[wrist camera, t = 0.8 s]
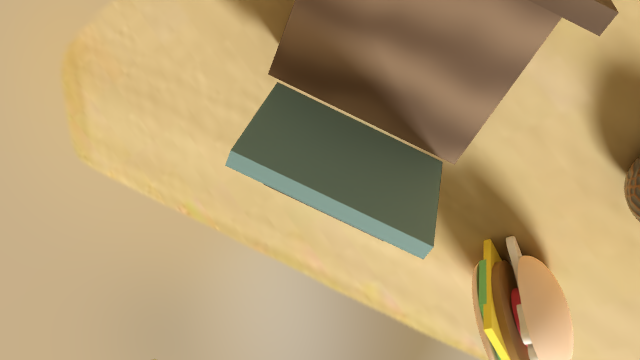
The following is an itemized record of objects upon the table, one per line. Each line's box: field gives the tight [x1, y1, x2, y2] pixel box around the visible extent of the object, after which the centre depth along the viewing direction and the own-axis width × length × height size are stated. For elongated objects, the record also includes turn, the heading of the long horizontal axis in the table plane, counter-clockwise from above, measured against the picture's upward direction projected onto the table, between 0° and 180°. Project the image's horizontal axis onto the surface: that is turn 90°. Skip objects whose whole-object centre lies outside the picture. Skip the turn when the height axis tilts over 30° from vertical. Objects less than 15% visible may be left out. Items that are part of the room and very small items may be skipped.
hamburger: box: [472, 236, 574, 360], centre depth 54 cm, size 12×8×12 cm
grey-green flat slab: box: [225, 82, 443, 259], centre depth 43 cm, size 3×16×11 cm, turn 69°
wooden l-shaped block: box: [268, 0, 618, 164], centre depth 40 cm, size 18×18×13 cm
